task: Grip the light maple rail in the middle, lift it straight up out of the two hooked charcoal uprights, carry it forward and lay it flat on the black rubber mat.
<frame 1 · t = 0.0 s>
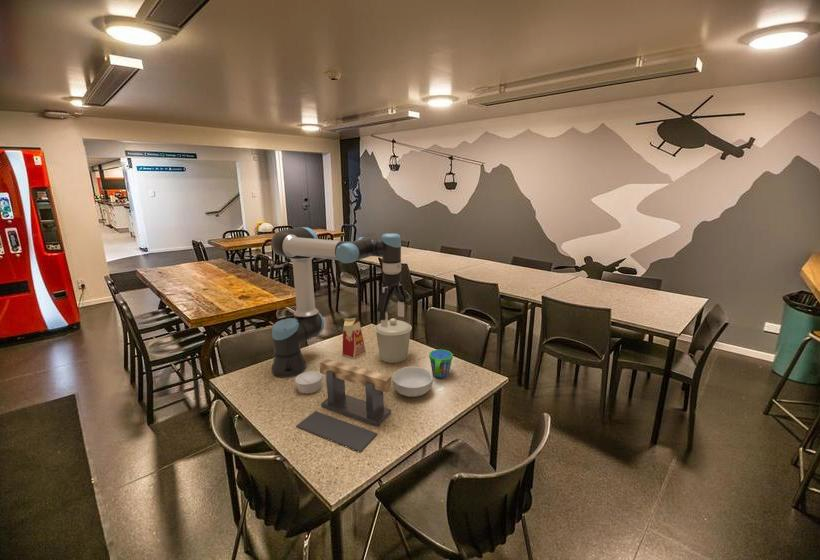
hand: (393, 321, 154), 28 cm above the table, tool pointing down, fingers open, 13 cm apart
maple rail: (354, 380, 137), point 13 cm above the table, touching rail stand
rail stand: (355, 410, 141), on the table
snack cup: (440, 375, 167), on the table
ramekin: (309, 388, 157), on the table
cereal bowl: (412, 391, 154), on the table
canister: (393, 358, 182), on the table
black rubber mat: (336, 430, 129), on the table
milk carton: (353, 354, 188), on the table
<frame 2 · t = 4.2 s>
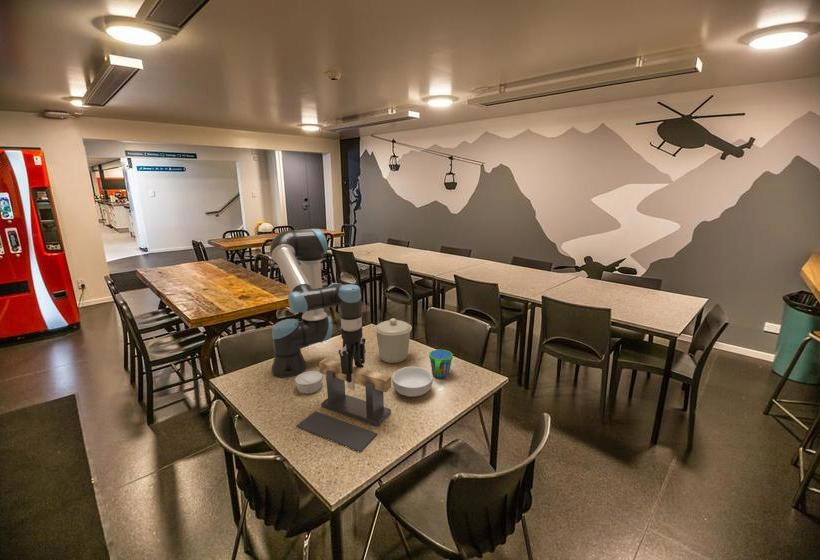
hand: (354, 385, 138), 11 cm above the table, tool pointing down, fingers closed on maple rail, 4 cm apart
maple rail: (354, 380, 137), point 13 cm above the table, touching gripper, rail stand
everything else where it was.
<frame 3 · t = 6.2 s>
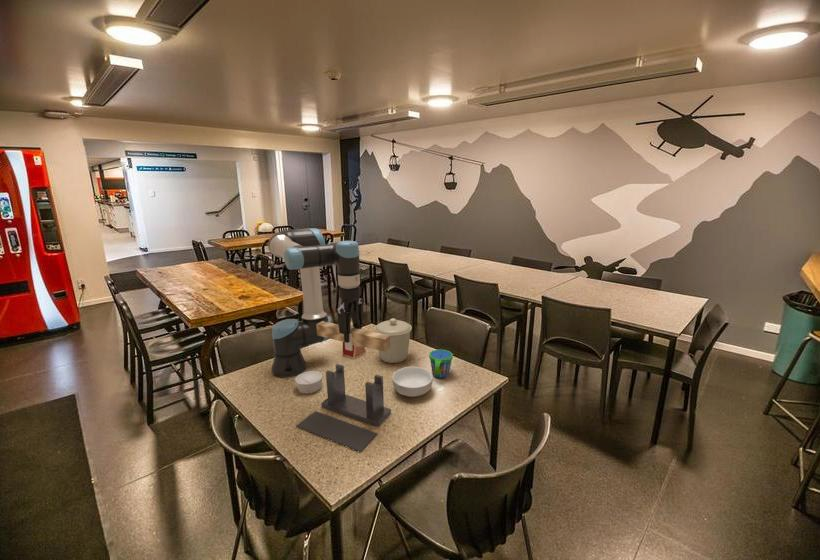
hand: (352, 347, 134), 26 cm above the table, tool pointing down, fingers closed on maple rail, 4 cm apart
maple rail: (352, 341, 134), point 29 cm above the table, touching gripper
everything else where it was.
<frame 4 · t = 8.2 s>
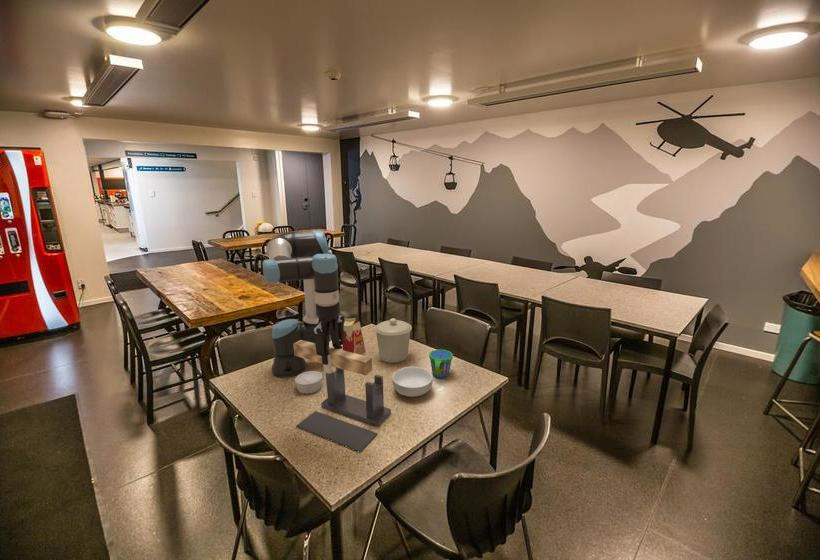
hand: (332, 369, 123), 24 cm above the table, tool pointing down, fingers closed on maple rail, 4 cm apart
maple rail: (331, 362, 122), point 26 cm above the table, touching gripper
everything else where it was.
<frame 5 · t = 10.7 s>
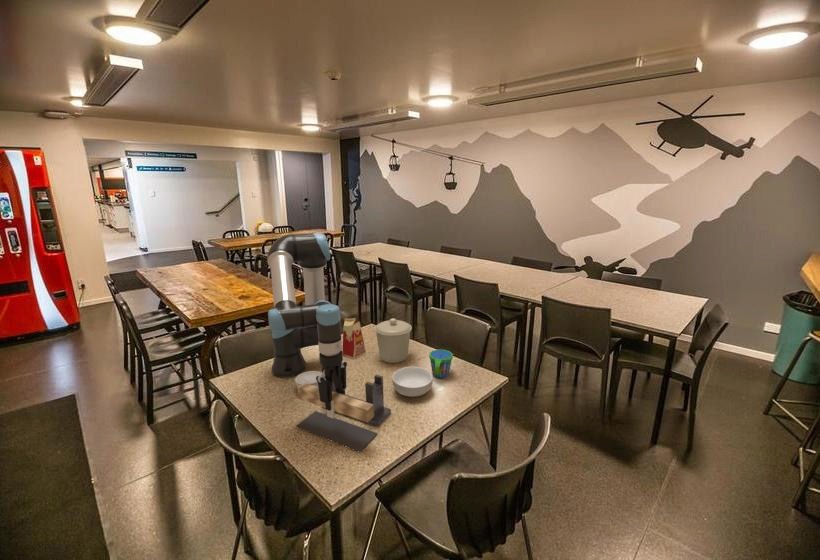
hand: (335, 413, 127), 7 cm above the table, tool pointing down, fingers closed on maple rail, 4 cm apart
maple rail: (334, 407, 127), point 10 cm above the table, touching gripper
everything else where it was.
when the fingers open (2 cm above the table, at t = 12.6 s): maple rail drops 4 cm, resting on black rubber mat.
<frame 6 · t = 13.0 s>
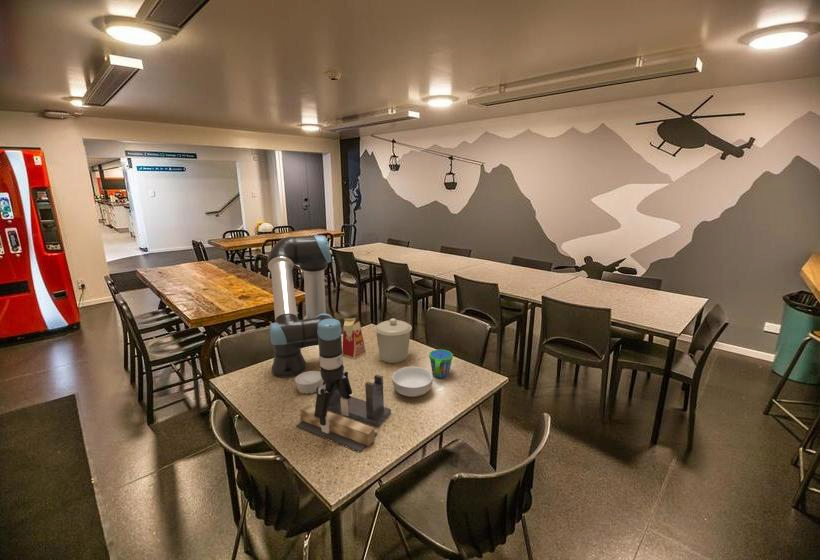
hand: (335, 422, 128), 3 cm above the table, tool pointing down, fingers open, 10 cm apart
maple rail: (336, 429, 129), point 1 cm above the table, touching black rubber mat
everything else where it was.
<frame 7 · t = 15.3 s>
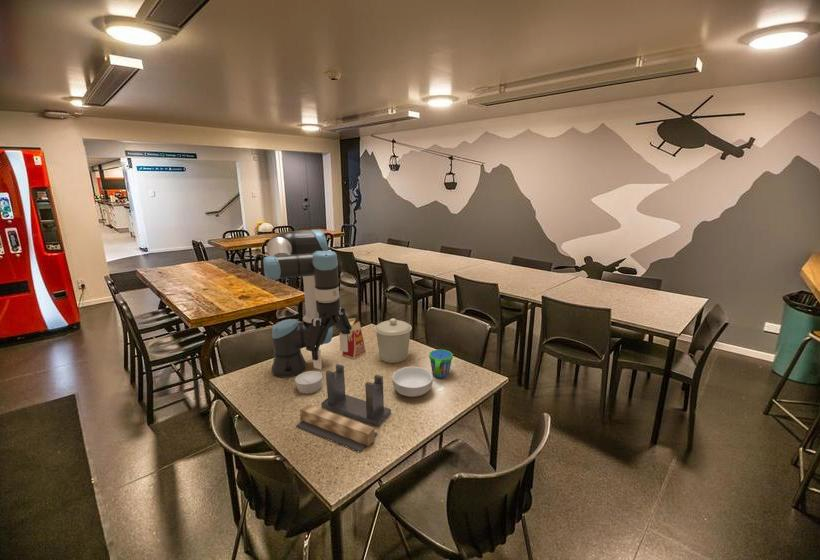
hand: (331, 359, 124), 27 cm above the table, tool pointing down, fingers open, 13 cm apart
nothing on the table moved.
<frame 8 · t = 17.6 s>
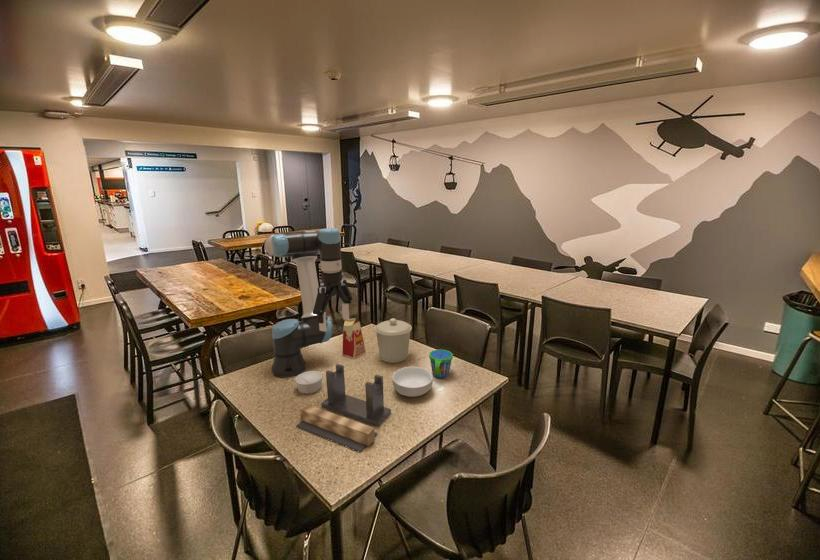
hand: (335, 324, 141), 32 cm above the table, tool pointing down, fingers open, 13 cm apart
nothing on the table moved.
at the end: maple rail inside the target area (0.1 cm from its centre), point 0.6 cm above the table; maple rail tilted 0°; the gripper is holding nothing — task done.
